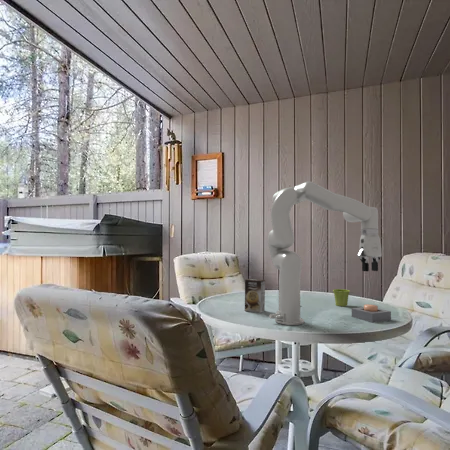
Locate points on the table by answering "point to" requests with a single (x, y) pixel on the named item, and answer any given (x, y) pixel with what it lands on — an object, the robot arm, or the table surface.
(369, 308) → the push button
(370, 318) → the button box
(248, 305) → the coffee box
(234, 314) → the table surface
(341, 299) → the plant pot
